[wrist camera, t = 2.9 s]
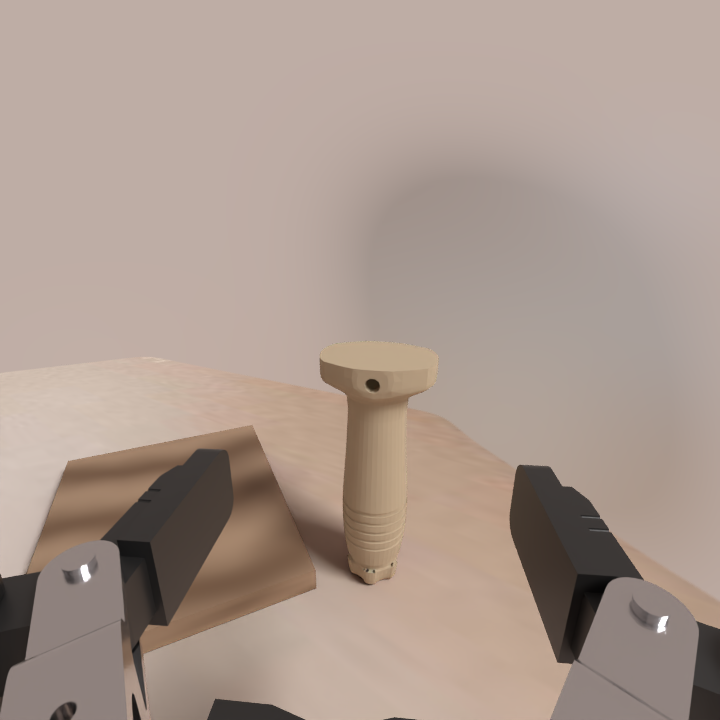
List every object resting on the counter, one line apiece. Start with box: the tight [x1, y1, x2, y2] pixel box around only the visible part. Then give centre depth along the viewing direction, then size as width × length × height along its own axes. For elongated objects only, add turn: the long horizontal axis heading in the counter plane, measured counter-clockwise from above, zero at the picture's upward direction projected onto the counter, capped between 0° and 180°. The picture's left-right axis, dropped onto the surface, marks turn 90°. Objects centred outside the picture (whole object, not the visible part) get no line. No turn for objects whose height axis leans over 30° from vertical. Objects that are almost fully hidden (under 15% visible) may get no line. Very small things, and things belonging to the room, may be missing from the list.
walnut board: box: [27, 425, 316, 654], centre depth 30 cm, size 20×16×2 cm
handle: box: [320, 341, 439, 584], centre depth 24 cm, size 5×6×15 cm
